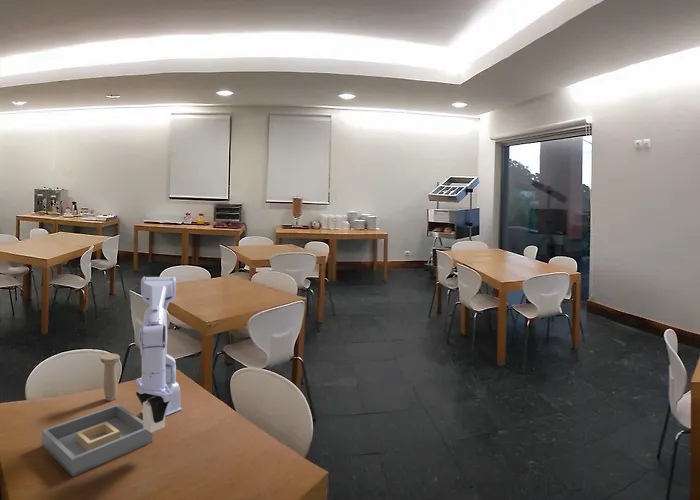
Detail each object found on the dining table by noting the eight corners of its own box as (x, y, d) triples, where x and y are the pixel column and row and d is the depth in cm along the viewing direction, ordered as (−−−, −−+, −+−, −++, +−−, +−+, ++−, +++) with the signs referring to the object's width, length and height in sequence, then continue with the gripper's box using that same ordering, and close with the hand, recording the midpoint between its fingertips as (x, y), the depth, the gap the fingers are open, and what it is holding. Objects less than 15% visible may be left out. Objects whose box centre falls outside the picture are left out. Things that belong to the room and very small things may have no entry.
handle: (110, 404, 139) (109, 360, 137) (97, 399, 142) (96, 356, 140) (123, 398, 143) (122, 356, 141) (111, 394, 146) (110, 352, 144)
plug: (157, 421, 116) (157, 394, 115) (165, 426, 114) (165, 399, 113) (142, 427, 113) (142, 399, 112) (150, 432, 111) (150, 404, 110)
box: (118, 417, 131) (118, 404, 130) (152, 441, 119) (152, 426, 119) (42, 445, 115) (41, 430, 114) (72, 476, 103) (72, 459, 103)
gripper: (124, 366, 112) (125, 414, 114) (153, 382, 104) (154, 434, 106) (150, 359, 118) (150, 405, 120) (179, 374, 110) (179, 423, 111)
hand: (154, 418), depth 113 cm, fingers closed on plug, 4 cm apart
